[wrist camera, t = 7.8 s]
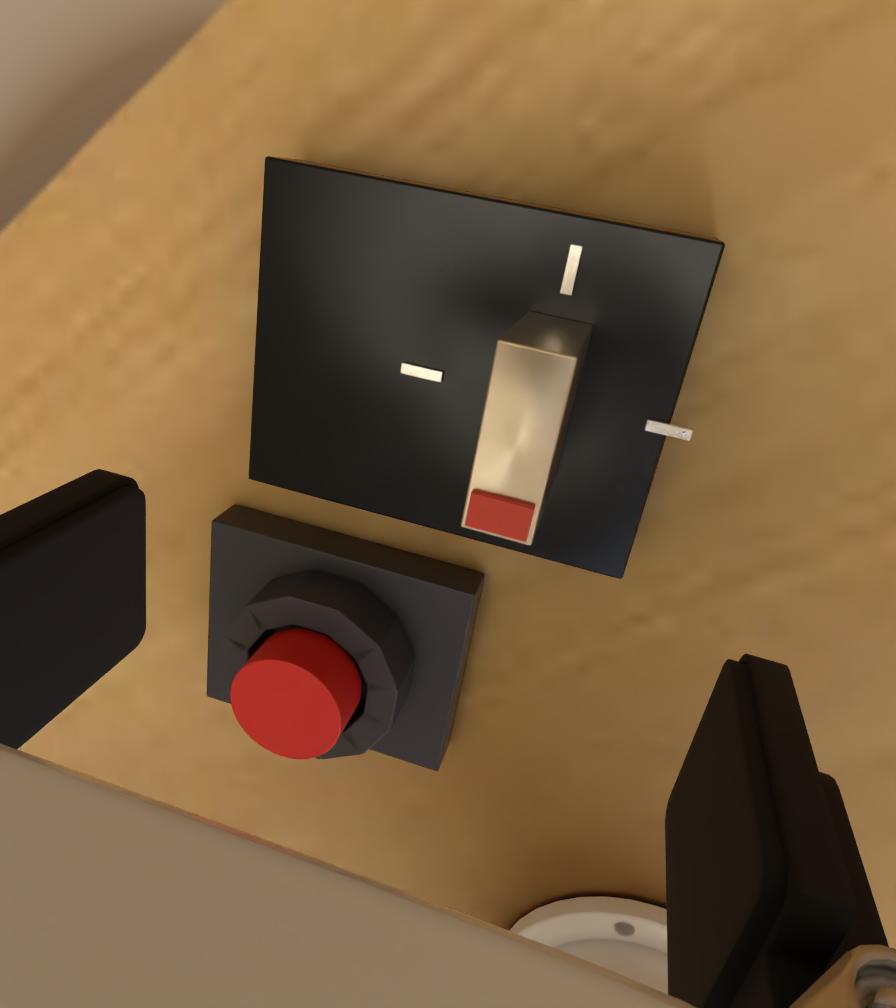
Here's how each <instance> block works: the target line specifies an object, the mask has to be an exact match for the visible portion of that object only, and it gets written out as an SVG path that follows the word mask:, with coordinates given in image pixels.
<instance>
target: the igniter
mask: <svg viewBox="0 0 896 1008" xmlns="http://www.w3.org/2000/svg"><path fill="white" fill-rule="evenodd" d="M484 577H485V575H484V574H483V573H480V572H477V571H473V570H470V569H466V568H462V567H459V566H455V565H451V564H448V563H444V562H441V561H437V560H433V559H430V558H426V557H423V556H419V555H415V554H412V553H408V552H405V551H401V550H397V549H394V548H390V547H386V546H383V545H379V544H376V543H372V542H368V541H365V540H361V539H358V538H354V537H350V536H347V535H343V534H340V533H336V532H332V531H329V530H325V529H321V528H318V527H314V526H311V525H307V524H303V523H300V522H296V521H293V520H289V519H285V518H282V517H278V516H275V515H271V514H267V513H264V512H260V511H256V510H253V509H249V508H246V507H242V506H238V505H233V506H231V507H230V508H229V509H227V510H226V511H224V512H223V513H222V514H220V515H219V516H218V517H216V518H215V519H213V520H212V532H211V566H210V600H209V634H208V668H207V696H208V697H211V698H214V699H217V700H221V701H224V702H227V703H230V704H231V698H230V692H231V686H232V682H233V680H234V678H235V676H236V674H237V673H238V672H239V670H240V669H241V668H242V667H243V666H244V665H245V664H246V662H247V661H248V660H249V659H250V658H251V657H252V656H253V654H254V653H255V652H256V651H257V650H258V649H259V648H260V646H261V645H262V644H263V643H264V642H265V641H266V640H267V639H268V638H269V637H270V636H272V635H273V634H275V633H277V632H279V631H283V630H286V629H293V628H300V629H308V630H312V631H315V632H318V633H321V634H323V635H325V636H327V637H329V638H330V639H332V640H333V641H335V642H336V643H337V644H339V645H340V646H341V647H342V648H343V649H344V650H345V651H346V652H347V653H348V654H349V656H350V657H351V658H352V660H353V661H354V663H355V665H356V667H357V669H358V671H359V674H360V678H361V684H362V693H361V698H360V701H359V704H358V706H357V708H356V709H355V711H354V713H353V715H352V716H351V718H350V720H349V721H348V723H347V725H346V726H345V728H344V730H343V732H342V733H341V735H340V737H339V738H338V740H337V742H336V743H335V745H334V746H333V747H332V748H331V749H330V750H329V751H327V752H326V753H324V754H322V755H320V756H317V757H315V758H317V759H328V758H336V757H344V756H352V755H360V754H363V753H365V752H366V751H367V750H368V749H370V750H373V751H376V752H380V753H383V754H386V755H389V756H392V757H395V758H398V759H401V760H404V761H407V762H410V763H413V764H416V765H419V766H422V767H425V768H428V769H432V770H435V771H438V770H439V768H440V765H441V763H442V760H443V757H444V755H445V752H446V750H447V747H448V744H449V740H450V735H451V730H452V726H453V721H454V716H455V712H456V707H457V702H458V698H459V693H460V688H461V684H462V679H463V674H464V670H465V665H466V660H467V656H468V651H469V647H470V642H471V637H472V633H473V628H474V623H475V619H476V614H477V609H478V605H479V600H480V595H481V591H482V586H483V581H484Z"/></svg>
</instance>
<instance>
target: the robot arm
mask: <svg viewBox="0 0 896 1008" xmlns="http://www.w3.org/2000/svg"><path fill="white" fill-rule="evenodd" d="M145 629H146V501H145V495H144V493H143V491H141V490H140V489H139V487H138V485H137V482H136V481H135V480H134V479H133V478H130V477H126V476H123V475H119V474H116V473H112V472H109V471H105V470H101V469H98V470H94V471H92V472H90V473H87V474H85V475H83V476H81V477H79V478H77V479H75V480H73V481H71V482H69V483H66V484H64V485H62V486H60V487H58V488H56V489H54V490H52V491H50V492H48V493H46V494H43V495H41V496H39V497H37V498H35V499H33V500H31V501H29V502H27V503H25V504H22V505H20V506H18V507H16V508H14V509H12V510H10V511H8V512H6V513H4V514H1V515H0V1008H896V949H894V948H890V947H889V946H888V943H887V939H886V936H885V933H884V930H883V927H882V924H881V920H880V917H879V914H878V911H877V908H876V904H875V901H874V898H873V895H872V892H871V889H870V885H869V882H868V879H867V876H866V873H865V869H864V866H863V863H862V860H861V857H860V854H859V850H858V847H857V844H856V841H855V838H854V834H853V831H852V828H851V825H850V822H849V819H848V815H847V812H846V809H845V806H844V803H843V799H842V796H841V793H840V790H839V787H838V785H837V783H836V781H835V779H834V778H832V777H831V776H830V775H828V774H824V773H821V772H819V771H818V767H817V764H816V760H815V757H814V753H813V750H812V746H811V743H810V739H809V736H808V733H807V729H806V726H805V722H804V719H803V715H802V712H801V708H800V705H799V701H798V698H797V694H796V691H795V687H794V684H793V680H792V677H791V673H790V670H789V668H788V666H786V665H784V664H781V663H777V662H774V661H770V660H767V659H763V658H760V657H756V656H753V655H749V654H744V655H743V656H742V657H741V659H740V660H739V662H737V661H734V660H730V659H728V660H727V661H726V662H725V663H724V665H723V667H722V670H721V672H720V675H719V677H718V679H717V682H716V684H715V687H714V689H713V692H712V694H711V697H710V699H709V702H708V704H707V706H706V709H705V711H704V714H703V716H702V719H701V721H700V724H699V726H698V728H697V731H696V733H695V736H694V738H693V741H692V743H691V746H690V748H689V750H688V753H687V755H686V758H685V760H684V763H683V765H682V768H681V770H680V773H679V775H678V777H677V780H676V782H675V785H674V787H673V790H672V792H671V795H670V798H669V801H668V805H667V810H666V817H665V840H666V901H667V909H664V908H662V907H659V906H655V905H651V904H648V903H644V902H640V901H636V900H632V899H623V898H615V897H606V896H600V897H577V898H572V899H566V900H560V901H556V902H553V903H550V904H547V905H545V906H542V907H539V908H537V909H535V910H533V911H532V912H530V913H529V914H527V915H525V916H524V917H522V918H521V919H519V920H518V921H517V923H516V924H515V925H514V926H513V927H512V928H511V929H510V930H509V931H508V930H506V929H503V928H501V927H498V926H496V925H493V924H490V923H488V922H485V921H482V920H480V919H477V918H474V917H472V916H469V915H466V914H464V913H461V912H458V911H456V910H453V909H450V908H448V907H445V906H442V905H440V904H437V903H434V902H431V901H429V900H426V899H423V898H421V897H418V896H415V895H413V894H410V893H407V892H405V891H402V890H399V889H397V888H394V887H391V886H388V885H386V884H383V883H380V882H378V881H375V880H372V879H370V878H367V877H364V876H362V875H359V874H356V873H354V872H351V871H348V870H345V869H343V868H340V867H337V866H335V865H332V864H329V863H327V862H324V861H321V860H319V859H316V858H313V857H311V856H308V855H305V854H303V853H300V852H297V851H294V850H292V849H289V848H286V847H283V846H281V845H278V844H275V843H273V842H270V841H267V840H264V839H262V838H259V837H256V836H253V835H251V834H248V833H245V832H243V831H240V830H237V829H234V828H232V827H229V826H226V825H223V824H221V823H218V822H215V821H213V820H210V819H207V818H204V817H202V816H199V815H196V814H193V813H191V812H188V811H185V810H182V809H180V808H177V807H174V806H172V805H169V804H166V803H163V802H161V801H158V800H155V799H152V798H150V797H147V796H144V795H141V794H139V793H136V792H133V791H130V790H128V789H125V788H122V787H119V786H117V785H114V784H111V783H108V782H106V781H103V780H100V779H97V778H95V777H92V776H89V775H86V774H84V773H81V772H78V771H75V770H72V769H70V768H67V767H64V766H61V765H58V764H56V763H53V762H50V761H47V760H44V759H42V758H39V757H36V756H33V755H31V754H28V753H25V752H22V751H19V750H17V749H18V748H19V747H21V746H22V745H23V744H24V743H25V742H26V741H28V740H29V739H30V738H31V737H32V736H33V735H35V734H36V733H37V732H38V731H39V730H40V729H42V728H43V727H44V726H45V725H46V724H48V723H49V722H50V721H51V720H52V719H53V718H55V717H56V716H57V715H58V714H59V713H60V712H62V711H63V710H64V709H65V708H66V707H67V706H69V705H70V704H71V703H72V702H73V701H74V700H76V699H77V698H78V697H79V696H80V695H81V694H83V693H84V692H85V691H86V690H87V689H88V688H90V687H91V686H92V685H93V684H94V683H95V682H97V681H98V680H99V679H100V678H101V677H102V676H104V675H105V674H106V673H107V672H108V671H109V670H111V669H112V668H113V667H114V666H115V665H116V664H118V663H119V662H120V661H121V660H122V659H123V658H125V657H126V656H127V655H128V654H129V653H130V652H132V651H133V650H134V649H135V648H136V647H137V646H138V645H139V643H140V642H141V640H142V638H143V636H144V633H145Z"/></svg>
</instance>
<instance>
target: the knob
mask: <svg viewBox="0 0 896 1008" xmlns="http://www.w3.org/2000/svg"><path fill="white" fill-rule="evenodd" d="M592 330H593V326H592V325H590V324H585V323H581V322H576V321H572V320H567V319H563V318H558V317H553V316H549V315H544V314H540V313H535V312H528V313H527V314H526V315H525V316H524V317H523V318H522V319H520V320H519V321H518V322H517V323H516V324H515V325H514V326H513V327H512V328H511V329H509V330H508V331H507V332H506V333H505V334H504V335H503V336H502V337H501V338H499V339H498V341H497V344H496V349H495V354H494V359H493V364H492V369H491V375H490V380H489V385H488V390H487V395H486V400H485V405H484V410H483V415H482V420H481V425H480V430H479V435H478V440H477V445H476V450H475V455H474V460H473V465H472V470H471V475H470V480H469V485H468V490H467V495H466V500H465V505H464V510H463V515H462V520H461V527H464V528H468V529H471V530H475V531H479V532H482V533H486V534H490V535H493V536H497V537H501V538H504V539H508V540H511V541H515V542H519V543H522V544H526V545H531V544H532V542H533V539H534V536H535V534H536V531H537V528H538V525H539V522H540V520H541V517H542V514H543V511H544V508H545V505H546V503H547V500H548V497H549V494H550V491H551V489H552V486H553V483H554V480H555V476H556V472H557V468H558V464H559V460H560V456H561V452H562V448H563V444H564V440H565V436H566V432H567V428H568V424H569V421H570V417H571V413H572V409H573V405H574V401H575V397H576V393H577V389H578V385H579V381H580V377H581V373H582V369H583V365H584V361H585V357H586V353H587V349H588V345H589V341H590V338H591V334H592Z"/></svg>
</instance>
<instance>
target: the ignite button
mask: <svg viewBox="0 0 896 1008" xmlns="http://www.w3.org/2000/svg"><path fill="white" fill-rule="evenodd" d="M361 693H362V684H361V678H360V674H359V671H358V669H357V667H356V665H355V663H354V661H353V660H352V658H351V657H350V656H349V654H348V653H347V652H346V651H345V650H344V649H343V648H342V647H341V646H340V645H339V644H337V643H336V642H335V641H333V640H332V639H330V638H329V637H327V636H325V635H323V634H321V633H318V632H315V631H312V630H308V629H300V628H293V629H286V630H283V631H279V632H277V633H275V634H273V635H272V636H270V637H269V638H268V639H267V640H266V641H265V642H264V643H263V644H262V645H261V646H260V648H259V649H258V650H257V651H256V652H255V653H254V654H253V656H252V657H251V658H250V659H249V660H248V661H247V662H246V664H245V665H244V666H243V667H242V668H241V669H240V670H239V672H238V673H237V674H236V676H235V678H234V680H233V682H232V686H231V692H230V698H231V705H232V709H233V712H234V714H235V716H236V719H237V720H238V722H239V724H240V725H241V727H242V728H243V729H244V731H245V732H246V733H247V734H248V735H249V736H250V737H251V738H252V739H253V740H254V741H255V742H257V743H258V744H259V745H261V746H262V747H264V748H265V749H267V750H269V751H271V752H273V753H275V754H278V755H280V756H284V757H287V758H293V759H310V758H315V757H317V756H320V755H322V754H324V753H326V752H327V751H329V750H330V749H331V748H332V747H333V746H334V745H335V743H336V742H337V740H338V738H339V737H340V735H341V733H342V732H343V730H344V728H345V726H346V725H347V723H348V721H349V720H350V718H351V716H352V715H353V713H354V711H355V709H356V708H357V706H358V704H359V701H360V698H361Z"/></svg>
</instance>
